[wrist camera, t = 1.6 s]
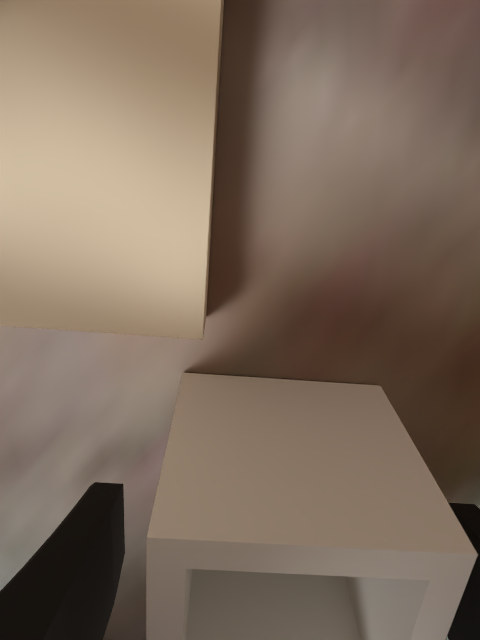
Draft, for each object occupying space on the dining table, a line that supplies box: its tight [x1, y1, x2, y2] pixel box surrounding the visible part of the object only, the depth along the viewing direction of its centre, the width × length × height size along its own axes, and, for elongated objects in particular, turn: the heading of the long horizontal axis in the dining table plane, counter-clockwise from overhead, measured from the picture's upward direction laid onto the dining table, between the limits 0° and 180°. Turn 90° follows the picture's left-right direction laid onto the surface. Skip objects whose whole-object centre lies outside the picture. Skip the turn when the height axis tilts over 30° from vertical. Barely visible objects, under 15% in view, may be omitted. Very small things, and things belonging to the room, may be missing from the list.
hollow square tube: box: [146, 373, 478, 640], centre depth 10 cm, size 5×5×5 cm
